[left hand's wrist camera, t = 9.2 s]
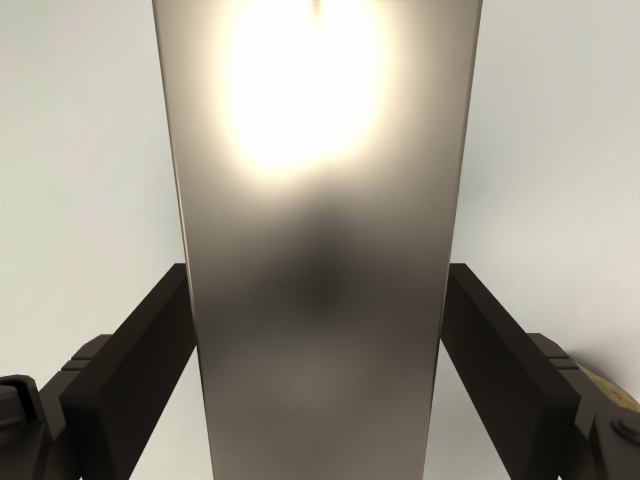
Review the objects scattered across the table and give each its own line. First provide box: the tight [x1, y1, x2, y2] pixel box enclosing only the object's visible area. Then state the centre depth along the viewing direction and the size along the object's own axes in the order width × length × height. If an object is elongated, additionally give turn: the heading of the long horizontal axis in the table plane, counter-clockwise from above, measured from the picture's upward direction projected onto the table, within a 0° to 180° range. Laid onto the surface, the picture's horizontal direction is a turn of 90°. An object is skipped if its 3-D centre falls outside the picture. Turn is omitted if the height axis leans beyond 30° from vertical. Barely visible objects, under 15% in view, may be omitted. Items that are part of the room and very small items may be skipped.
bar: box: [152, 0, 483, 480], centre depth 9 cm, size 23×5×8 cm, turn 0°
